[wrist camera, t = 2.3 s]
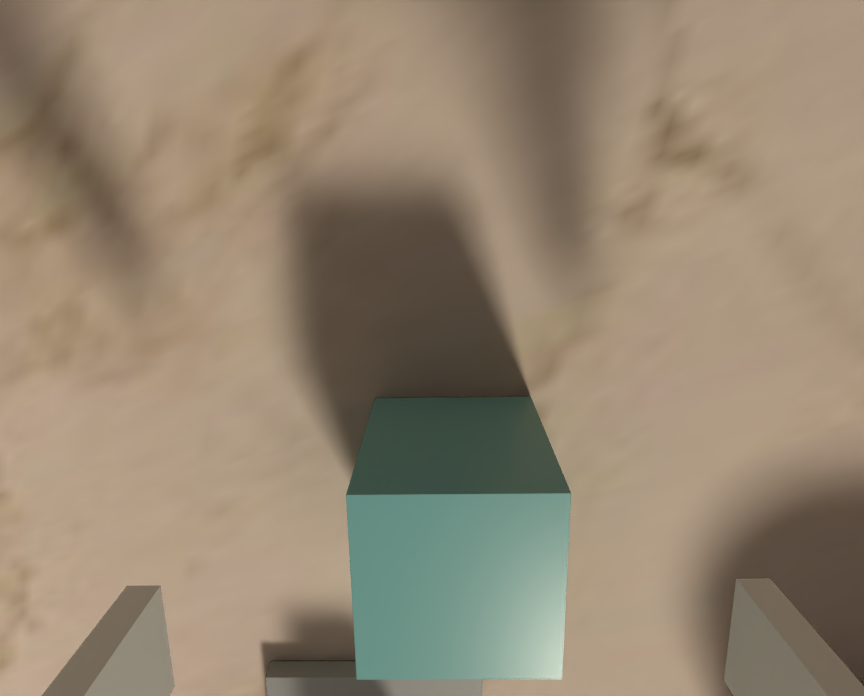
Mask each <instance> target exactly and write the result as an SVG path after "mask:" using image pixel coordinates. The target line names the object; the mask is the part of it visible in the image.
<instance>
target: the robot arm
mask: <svg viewBox="0 0 864 696" xmlns="http://www.w3.org/2000/svg"><path fill="white" fill-rule="evenodd" d="M724 681H725V683H726V685H727V686H728V688H729V690H730V691H731V693H732V695H733V696H864V686H863V685H862V683H861V682H860V681H859V680H858V679H857V678H856V677H855V675H854V674H853V673H852V672H851V671H850V670H849V668H848V667H847V666H846V665H845V664H844V663H843V662H842V660H841V659H840V658H839V657H838V656H837V655H836V654H835V652H834V651H833V650H832V649H831V648H830V647H829V646H828V644H827V643H826V642H825V641H824V640H823V639H822V637H821V636H820V635H819V634H818V633H817V632H816V631H815V629H814V628H813V627H812V626H811V625H810V624H809V623H808V621H807V620H806V619H805V618H804V617H803V616H802V615H801V613H800V612H799V611H798V610H797V609H796V608H795V606H794V605H793V604H792V603H791V602H790V601H789V600H788V598H787V597H786V596H785V595H784V594H783V593H782V592H781V590H780V589H779V588H778V587H777V586H776V585H775V584H774V582H773V581H772V580H771V579H770V578H754V579H736V584H735V593H734V601H733V609H732V617H731V626H730V634H729V642H728V650H727V659H726V667H725V675H724ZM174 687H175V685H174V677H173V670H172V663H171V656H170V649H169V642H168V635H167V628H166V621H165V614H164V607H163V600H162V593H161V586H127V587H126V588H125V589H124V591H123V592H122V593H121V594H120V596H119V597H118V598H117V600H116V601H115V602H114V603H113V605H112V606H111V607H110V609H109V610H108V611H107V612H106V614H105V615H104V616H103V618H102V619H101V620H100V621H99V623H98V624H97V625H96V627H95V628H94V629H93V630H92V632H91V633H90V634H89V636H88V637H87V638H86V639H85V641H84V642H83V643H82V645H81V646H80V647H79V648H78V650H77V651H76V652H75V654H74V655H73V656H72V657H71V659H70V660H69V661H68V663H67V664H66V665H65V666H64V668H63V669H62V670H61V672H60V673H59V674H58V675H57V677H56V678H55V679H54V681H53V682H52V683H51V684H50V686H49V687H48V688H47V690H46V691H45V692H44V694H43V695H42V696H170V694H171V692H172V690H173V688H174Z"/></svg>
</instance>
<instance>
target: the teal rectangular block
mask: <svg viewBox="0 0 864 696" xmlns="http://www.w3.org/2000/svg"><path fill="white" fill-rule="evenodd" d="M346 502H347V519H348V537H349V554H350V572H351V589H352V606H353V624H354V641H355V659H356V676H357V680H422V679H562V669H563V649H564V628H565V607H566V587H567V566H568V545H569V525H570V504H571V492H570V490H569V487H568V485H567V483H566V480H565V478H564V475H563V473H562V471H561V468H560V466H559V463H558V461H557V459H556V456H555V454H554V451H553V449H552V447H551V444H550V442H549V439H548V437H547V435H546V432H545V430H544V427H543V425H542V423H541V420H540V418H539V415H538V413H537V411H536V408H535V406H534V403H533V401H532V399H531V397H437V398H375V401H374V404H373V407H372V411H371V414H370V417H369V421H368V424H367V427H366V431H365V434H364V437H363V440H362V444H361V447H360V450H359V454H358V457H357V460H356V464H355V467H354V470H353V474H352V477H351V480H350V484H349V487H348V490H347V494H346Z"/></svg>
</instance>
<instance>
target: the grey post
mask: <svg viewBox="0 0 864 696" xmlns="http://www.w3.org/2000/svg"><path fill="white" fill-rule="evenodd" d="M265 679H266V688H267V696H482V679H422V680H357V676H356V661H271V663H270V666H269V669H268V672H267V674H266V677H265Z"/></svg>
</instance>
